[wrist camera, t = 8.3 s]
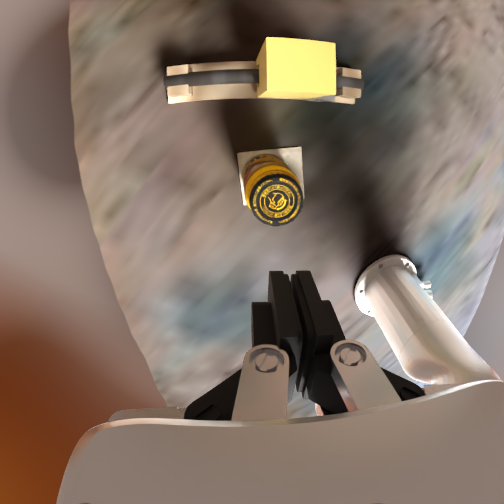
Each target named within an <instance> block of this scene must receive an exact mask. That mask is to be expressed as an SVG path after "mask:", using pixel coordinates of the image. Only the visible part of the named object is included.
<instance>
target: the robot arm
mask: <svg viewBox="0 0 504 504" xmlns="http://www.w3.org/2000/svg"><path fill="white" fill-rule="evenodd" d="M430 287H431V282H430V281H429V280H428V281H422V282H421V281H420V280H419V278H418V277H417V272H416V268H415V266H414V264H413V263H412V262H411V261H410V260H409V259H408V258H406V257H404V256H402V255H389V256H385V257H383V258H380V259H378V260H377V261H375V262H373V263H372V264H371V265H370V266H369V267H367V269H366V270H365V271H364V272H363V273H362V275H361V276H360V278H359V280H358V282H357V284H356V288H355V301H356V303H357V305H358V307H359V309H360V310H361V311H362V312H363V313H365V314H367V315H371V316H374V317H375V319H376V321H377V323H378V324H379V326H380V328H381V330H382V331H383V333H384V335H385V337H386V339H387V340H388V342H389V344H390V346H391V348H392V350H393V351H394V353H395V355H396V357H397V359H398V361H399V363H400V364H401V366H402V368H403V370H404V371H405V373H406V374H407V375H408V376H410V377H411V378H413V379H415V380H417V381H420V382H425V383H430V384H432V385H424V386H423V387H422V388H420V387H419V386H418V385H416V384H415V383H413V382H411V381H408V380H406V379H404V378H402V377H400V376H398V375H396V374H393V373H391V372H389V371H387V370H385V369H383V368H381V367H380V366H379V364H378V363H377V361H376V360H375V358H374V357H373V355H372V354H371V352H370V351H369V349H368V348H367V347H366V346H365V345H363V344H362V343H360V342H357V341H354V340H346V339H345V336H344V334H343V331H342V329H341V326H340V324H339V321H338V319H337V316H336V314H335V312H334V309H333V307H332V304H331V302H330V301H329V300H321V298H320V295H319V293H318V290H317V287H316V285H315V282H314V280H313V277H312V275H311V272H310V271H296V274H292V275H291V281H290V280H289V276H288V274H284V273H283V271H269V286H268V302H252V348H251V349H250V350H249V351H248V352H247V353H246V355H245V357H244V361H243V366H242V368H241V369H240V370H239V371H237V372H236V373H234V374H233V375H232V376H230V377H229V378H227V379H226V380H225V381H223V382H222V383H220V384H219V385H217V386H216V387H215V388H213V389H212V390H210V391H209V392H207V393H206V394H204V395H203V396H201V397H200V398H198V399H197V400H195V401H194V402H192V403H191V404H190V405H189V406H188V407H187V408H179V409H178V407H177V406H172V407H162V408H150V409H133V410H122V411H118V412H116V413H115V414H113V415H112V416H111V418H110V419H109V422H108V423H104V424H101V425H98V426H96V427H94V428H92V429H90V430H89V431H87V432H86V433H85V434H84V435H83V436H82V437H81V439H80V440H79V442H78V443H77V445H76V447H75V449H74V451H73V453H72V455H71V457H70V460H69V462H68V465H67V468H66V470H65V473H64V477H63V480H62V484H61V487H60V491H59V495H58V499H57V504H504V381H501V380H500V378H499V376H498V375H497V374H496V372H495V371H494V370H493V369H492V368H491V367H490V366H489V365H488V364H487V363H486V362H485V361H484V360H483V359H482V358H481V357H480V356H479V355H478V354H477V353H476V352H475V351H474V350H473V349H472V348H471V347H470V346H469V344H468V343H467V342H466V341H465V340H464V338H463V337H462V336H461V334H460V333H459V332H458V331H457V329H456V328H455V327H454V325H453V324H452V323H451V322H450V320H449V319H448V318H447V317H446V315H445V314H444V313H443V312H442V310H441V309H440V308H439V307H438V305H437V304H436V303H435V302H434V301H433V299H432V297H433V293H432V291H431V290H424V289H423V288H430ZM295 383H296V389H297V392H302V396H303V399H310V400H311V401H313V402H315V409H316V412H317V414H318V416H316V417H306V418H295V419H286V415H287V404H288V403H289V402H290V401H291V400H292V396H293V392H294V388H295Z"/></svg>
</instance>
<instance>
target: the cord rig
mask: <svg viewBox="0 0 504 504" xmlns="http://www.w3.org/2000/svg"><path fill="white" fill-rule="evenodd" d="M257 83H259V69H257V67H256V61H233V62H213V63H199V64H189V65H188V64H187V65H178V66H170V67H167V75H165V76H164V86H165V89H167V94H168V103H169V104H171V103H180V102H190V101H201V100H216V99H242V98H257ZM363 89H364V80H363V78H361V70H356V69H350V68H344V67H336V95H335V101H329V102H339V103H348V104H355V98H361V91H363ZM277 99H296V98H277ZM302 100H304V99H302Z"/></svg>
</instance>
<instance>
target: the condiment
mask: <svg viewBox="0 0 504 504" xmlns="http://www.w3.org/2000/svg"><path fill="white" fill-rule="evenodd" d="M237 158H238V166H239V174H240V182H241V190H242V197H243V205H248V207H249V208H250V209H251V211H252V212H253V214H254V216H256V218H257V219H258V220H259V221H261V222H262V223H264V224H267V225H271V226H281V225H286V224H288V223H290V222H292V221H293V220H294V219H295V218H296V217H297V216H298V214H299V213H300V212H301V209H302V207H303V202H304V199H305V198H304V183H303V169H302V153H301V147H291V148H280V149H268V150H258V151H249V152H241V153H237ZM284 161H285V163H284ZM286 163H288V164H286Z"/></svg>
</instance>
